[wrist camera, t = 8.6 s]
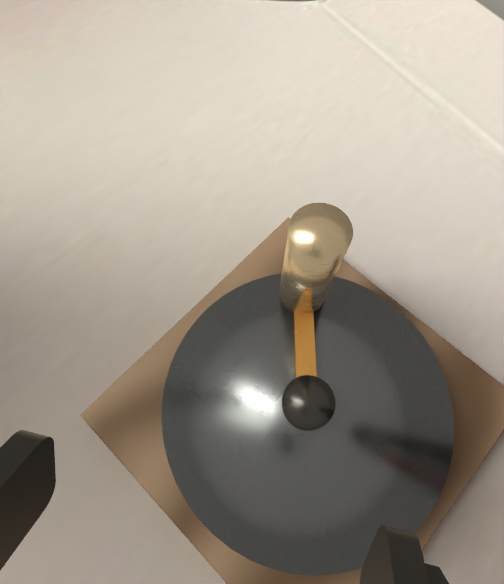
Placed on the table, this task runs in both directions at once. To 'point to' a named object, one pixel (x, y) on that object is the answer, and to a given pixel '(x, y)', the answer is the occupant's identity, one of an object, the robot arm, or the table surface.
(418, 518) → the crank turntable
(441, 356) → the stand base
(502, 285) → the table surface
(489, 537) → the table surface
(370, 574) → the robot arm
